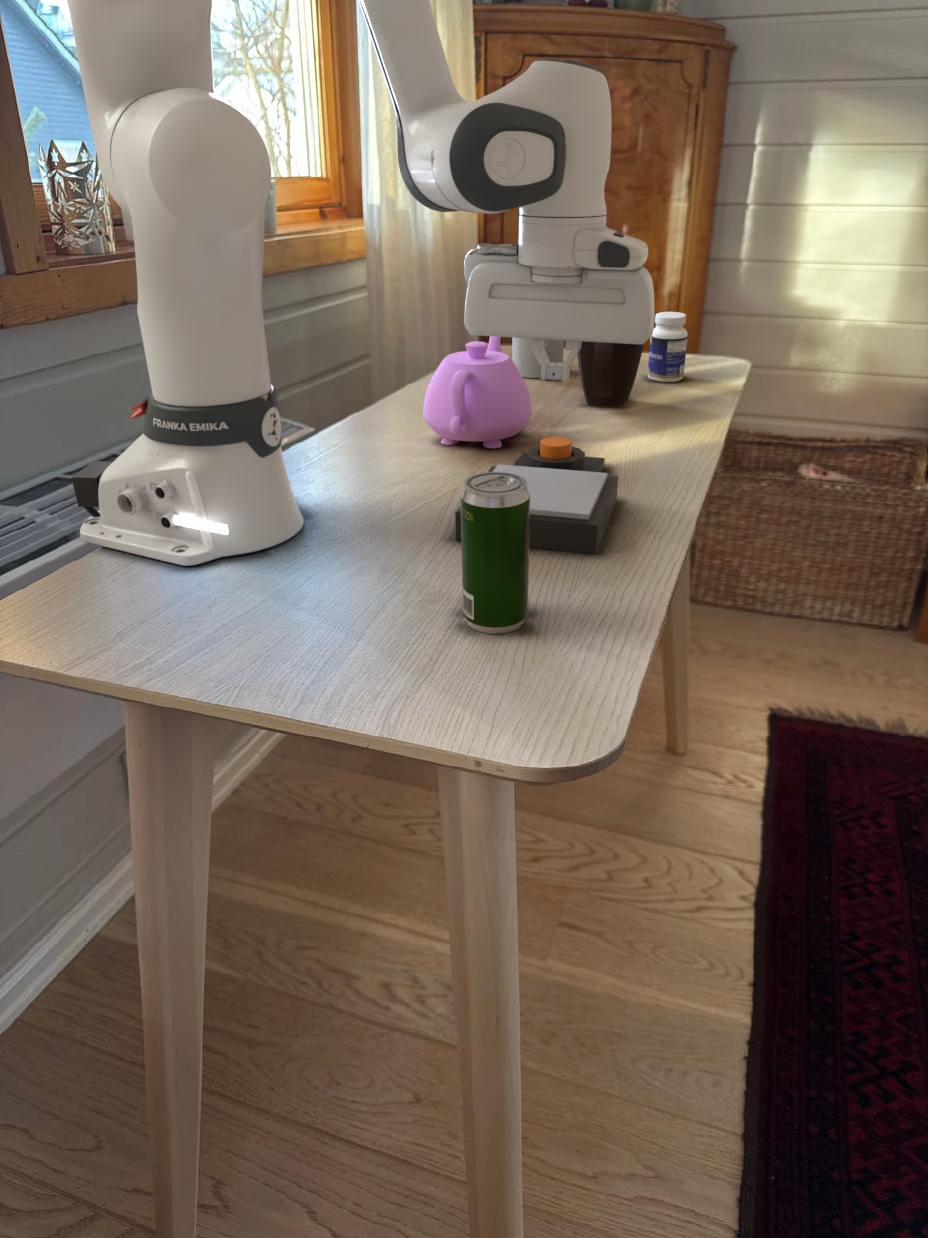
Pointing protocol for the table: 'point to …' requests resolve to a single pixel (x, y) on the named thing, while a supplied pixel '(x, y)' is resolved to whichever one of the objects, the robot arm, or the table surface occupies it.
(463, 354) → the teapot
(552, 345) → the cup
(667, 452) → the table surface
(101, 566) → the table surface
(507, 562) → the beer can
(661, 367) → the pill bottle
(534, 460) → the box
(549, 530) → the scale
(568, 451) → the tare button
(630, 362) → the mug
